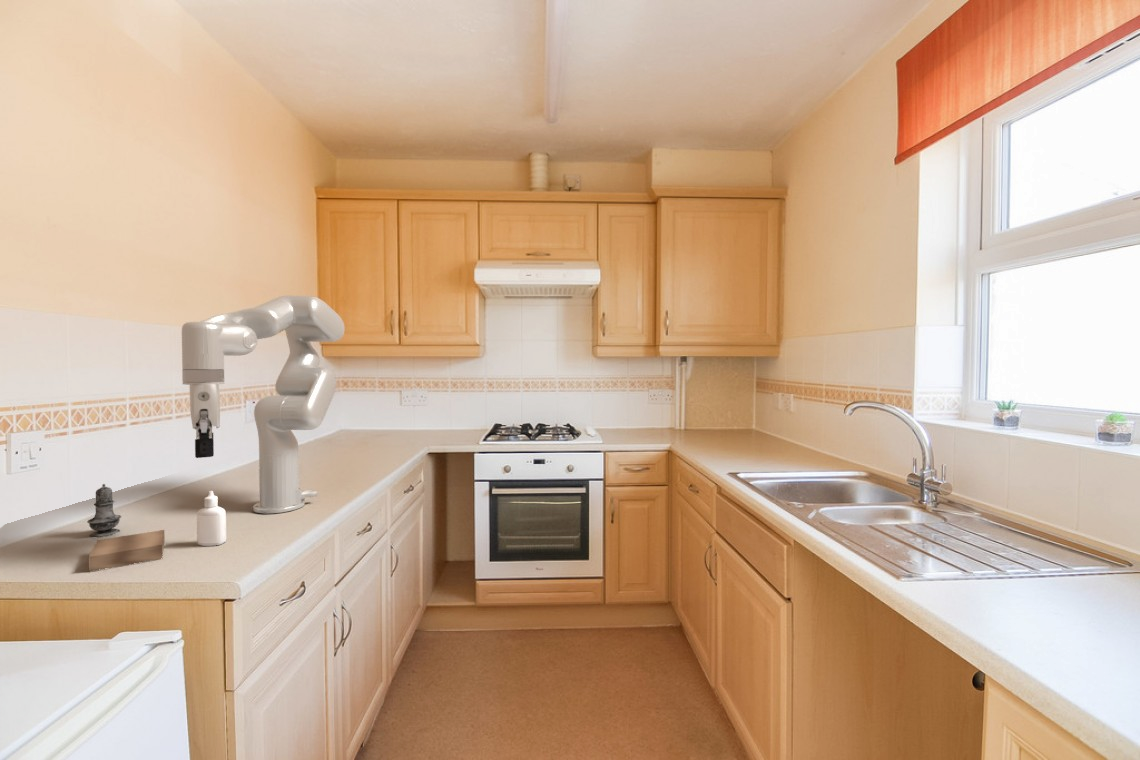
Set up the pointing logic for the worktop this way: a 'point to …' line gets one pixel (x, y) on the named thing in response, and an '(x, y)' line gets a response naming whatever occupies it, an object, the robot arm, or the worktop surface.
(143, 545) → the walnut stand
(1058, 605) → the worktop surface
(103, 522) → the salt shaker
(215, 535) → the eye dropper bottle
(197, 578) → the worktop surface
